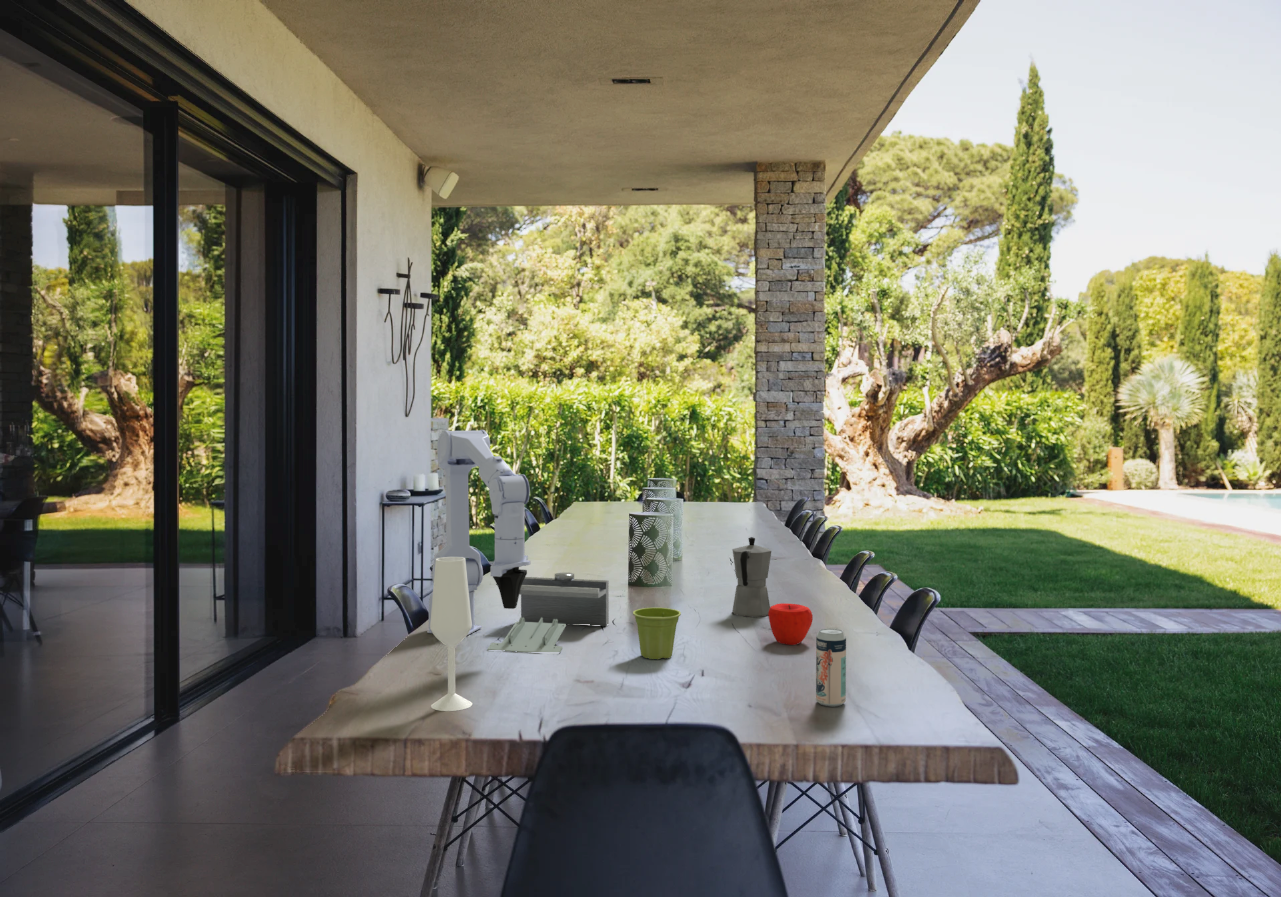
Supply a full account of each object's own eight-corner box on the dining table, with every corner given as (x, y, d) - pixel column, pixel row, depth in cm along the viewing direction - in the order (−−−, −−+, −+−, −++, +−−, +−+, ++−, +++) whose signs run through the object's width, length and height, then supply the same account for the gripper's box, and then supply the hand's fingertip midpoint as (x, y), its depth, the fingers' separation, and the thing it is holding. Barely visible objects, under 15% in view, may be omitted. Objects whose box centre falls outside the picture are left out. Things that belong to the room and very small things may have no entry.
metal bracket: (508, 611, 215) (576, 614, 212) (510, 636, 217) (578, 639, 214) (483, 645, 202) (556, 649, 199) (487, 671, 204) (558, 675, 201)
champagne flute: (470, 710, 163) (469, 561, 162) (428, 711, 163) (426, 562, 162) (474, 698, 170) (473, 555, 169) (433, 699, 170) (432, 556, 169)
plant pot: (686, 652, 202) (686, 609, 202) (672, 664, 193) (672, 618, 193) (642, 649, 205) (642, 606, 205) (626, 660, 196) (626, 615, 196)
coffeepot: (738, 606, 249) (739, 533, 248) (777, 609, 245) (777, 534, 245) (722, 619, 234) (722, 541, 233) (762, 621, 231) (763, 542, 230)
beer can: (812, 699, 169) (813, 628, 169) (840, 699, 170) (841, 627, 169) (820, 708, 165) (820, 634, 164) (849, 707, 165) (849, 634, 165)
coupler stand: (511, 627, 225) (511, 577, 224) (526, 619, 234) (525, 570, 233) (598, 632, 220) (598, 581, 219) (610, 623, 229) (609, 574, 228)
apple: (817, 640, 212) (817, 603, 212) (803, 649, 205) (803, 610, 204) (776, 636, 217) (777, 599, 216) (761, 644, 209) (761, 606, 209)
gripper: (515, 543, 188) (515, 616, 189) (542, 533, 202) (542, 601, 203) (479, 542, 190) (480, 614, 190) (508, 532, 204) (509, 600, 204)
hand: (510, 608), depth 197 cm, fingers closed
